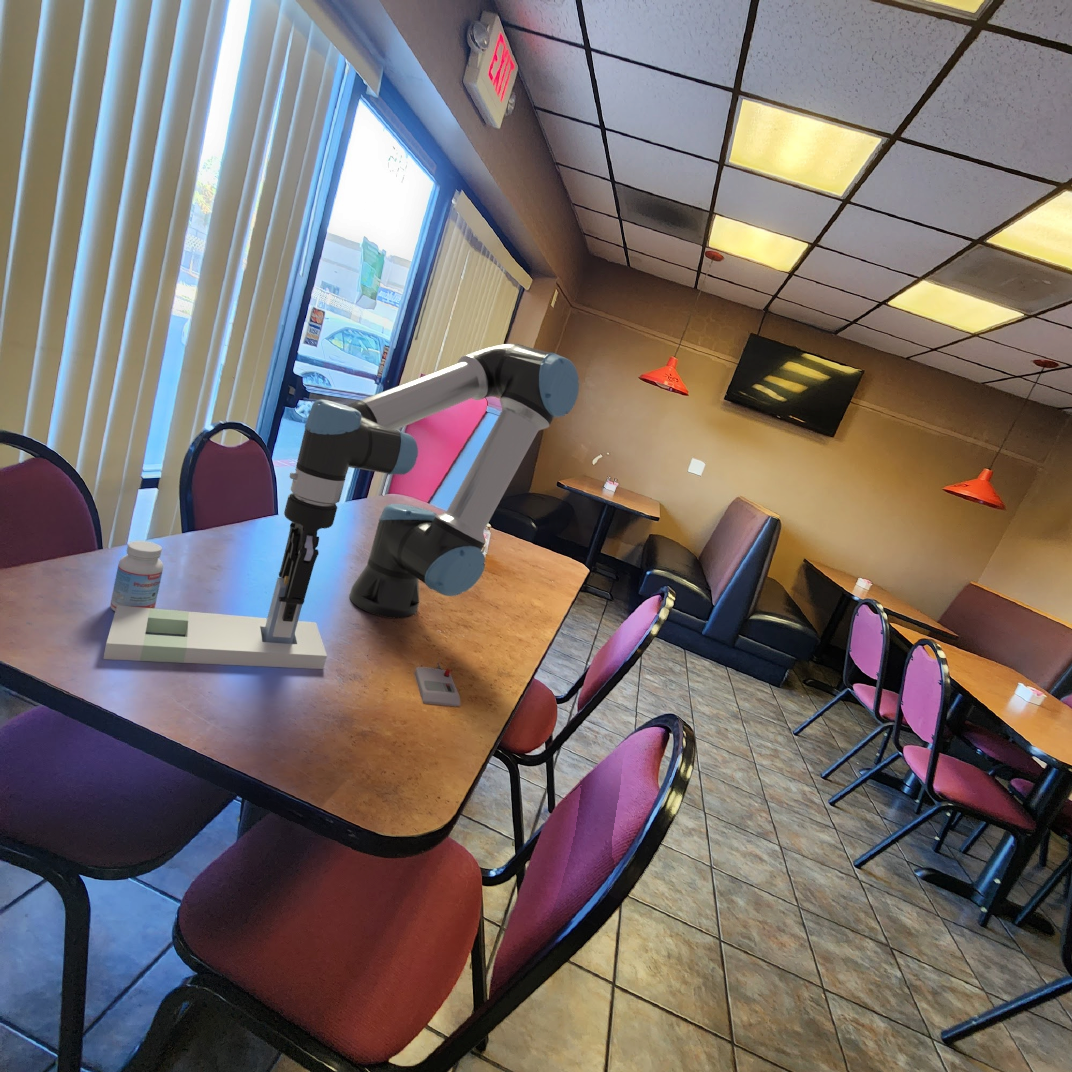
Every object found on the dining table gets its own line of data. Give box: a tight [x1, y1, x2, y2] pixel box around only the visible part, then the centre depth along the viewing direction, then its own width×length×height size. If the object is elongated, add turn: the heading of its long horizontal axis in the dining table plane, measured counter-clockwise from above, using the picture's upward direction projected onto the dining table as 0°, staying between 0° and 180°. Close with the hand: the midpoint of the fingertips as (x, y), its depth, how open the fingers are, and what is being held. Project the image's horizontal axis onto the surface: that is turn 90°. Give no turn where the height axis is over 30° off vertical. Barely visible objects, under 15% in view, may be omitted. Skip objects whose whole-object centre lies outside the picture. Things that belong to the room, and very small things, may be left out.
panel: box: [103, 605, 328, 670], centre depth 94 cm, size 30×12×2 cm, turn 119°
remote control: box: [413, 662, 461, 707], centre depth 104 cm, size 7×16×3 cm, turn 21°
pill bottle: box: [109, 540, 164, 612], centre depth 94 cm, size 6×6×11 cm
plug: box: [262, 576, 303, 644], centre depth 97 cm, size 4×4×13 cm
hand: (280, 628), depth 98 cm, fingers closed on plug, 4 cm apart
